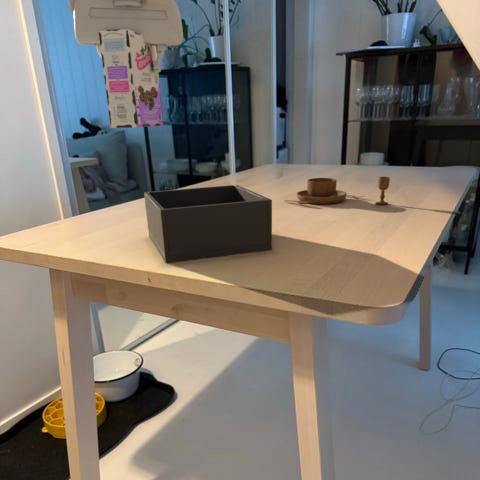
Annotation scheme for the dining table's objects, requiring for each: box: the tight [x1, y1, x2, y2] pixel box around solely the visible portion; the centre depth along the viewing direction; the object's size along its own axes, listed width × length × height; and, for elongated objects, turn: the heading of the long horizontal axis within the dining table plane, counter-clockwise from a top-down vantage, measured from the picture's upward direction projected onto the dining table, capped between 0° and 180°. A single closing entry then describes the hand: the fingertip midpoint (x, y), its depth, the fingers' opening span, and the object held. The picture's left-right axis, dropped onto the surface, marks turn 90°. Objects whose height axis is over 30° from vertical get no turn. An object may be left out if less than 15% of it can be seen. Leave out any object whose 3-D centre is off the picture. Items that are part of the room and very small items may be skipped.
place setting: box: [284, 176, 391, 206], centre depth 108 cm, size 18×20×6 cm
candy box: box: [99, 29, 164, 129], centre depth 91 cm, size 14×6×16 cm, turn 167°
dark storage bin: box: [143, 184, 273, 264], centre depth 78 cm, size 17×17×8 cm
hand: (133, 72), depth 90 cm, fingers closed on candy box, 8 cm apart
